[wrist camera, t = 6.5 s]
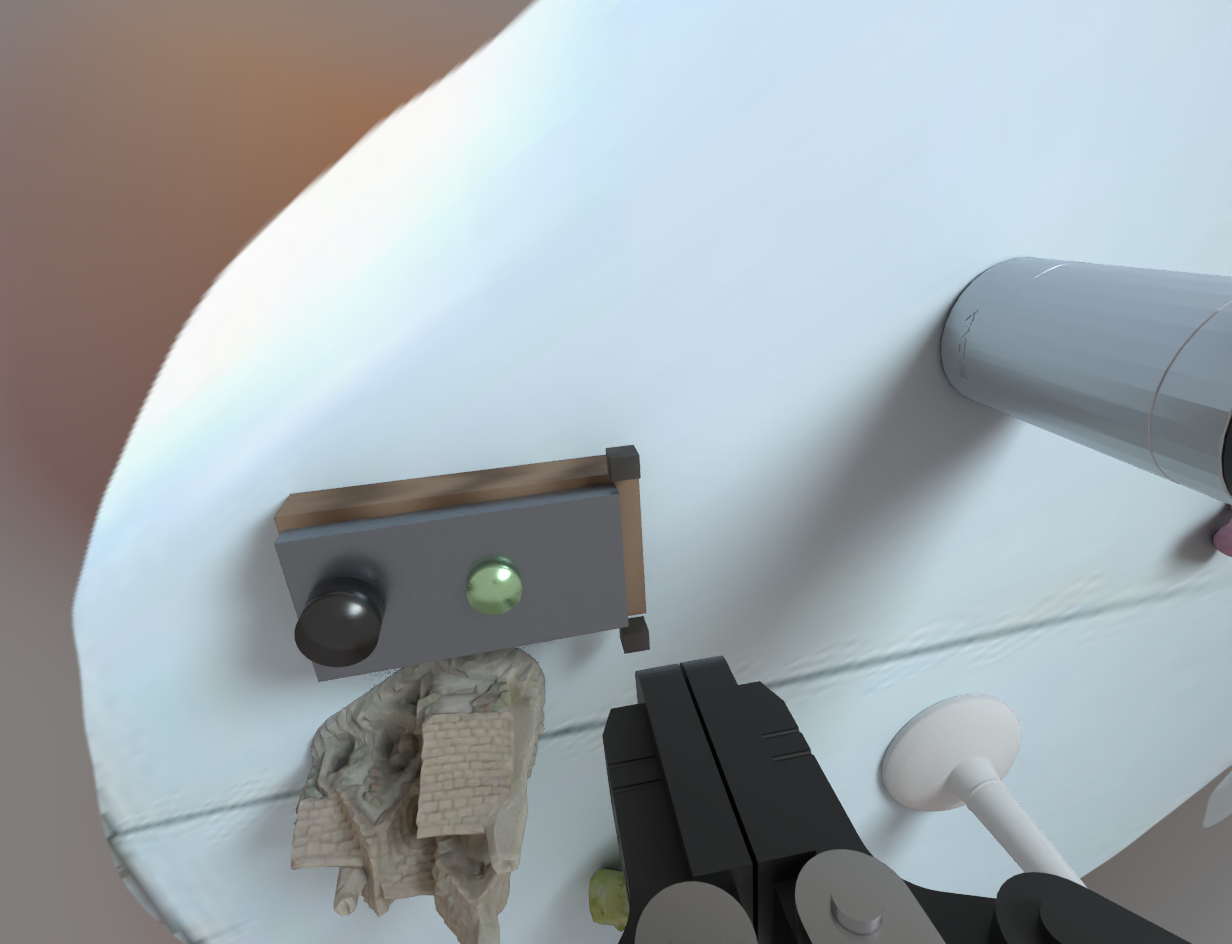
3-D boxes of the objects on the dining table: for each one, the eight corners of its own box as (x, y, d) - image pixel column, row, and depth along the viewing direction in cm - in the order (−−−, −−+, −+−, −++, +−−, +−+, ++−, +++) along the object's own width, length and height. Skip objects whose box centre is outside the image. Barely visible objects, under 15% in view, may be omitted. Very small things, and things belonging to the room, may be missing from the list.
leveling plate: (614, 482, 36) (628, 512, 33) (623, 612, 40) (637, 651, 36) (282, 529, 33) (259, 567, 30) (324, 664, 37) (308, 712, 34)
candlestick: (859, 801, 56) (1202, 1364, 29) (919, 687, 52) (1389, 1220, 25) (975, 807, 59) (1382, 1318, 32) (1041, 700, 55) (1575, 1184, 28)
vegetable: (562, 835, 48) (760, 857, 43) (622, 791, 60) (784, 804, 54) (563, 1021, 45) (775, 1069, 40) (626, 937, 57) (797, 966, 52)
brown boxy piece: (627, 427, 39) (642, 454, 34) (638, 606, 44) (652, 648, 40) (283, 468, 36) (254, 503, 32) (338, 654, 41) (320, 704, 37)
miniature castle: (569, 652, 44) (579, 858, 31) (514, 814, 50) (501, 1047, 36) (338, 611, 41) (233, 820, 27) (308, 788, 47) (209, 1033, 33)
